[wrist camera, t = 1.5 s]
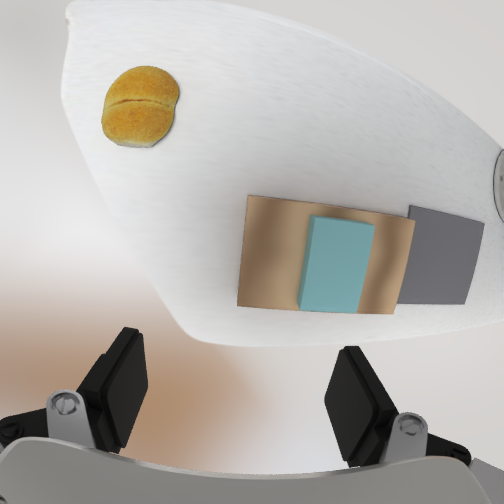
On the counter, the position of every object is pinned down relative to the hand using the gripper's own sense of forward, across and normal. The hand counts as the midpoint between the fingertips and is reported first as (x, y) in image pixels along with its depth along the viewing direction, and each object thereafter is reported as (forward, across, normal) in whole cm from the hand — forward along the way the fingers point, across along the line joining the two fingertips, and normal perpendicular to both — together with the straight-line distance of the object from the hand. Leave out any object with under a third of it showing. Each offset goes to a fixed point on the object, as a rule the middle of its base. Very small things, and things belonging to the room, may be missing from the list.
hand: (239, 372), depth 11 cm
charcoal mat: (+20, -26, -1) cm, 33 cm away
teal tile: (+17, -9, 0) cm, 19 cm away
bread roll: (+21, +12, -14) cm, 28 cm away
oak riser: (+20, -9, 0) cm, 22 cm away
